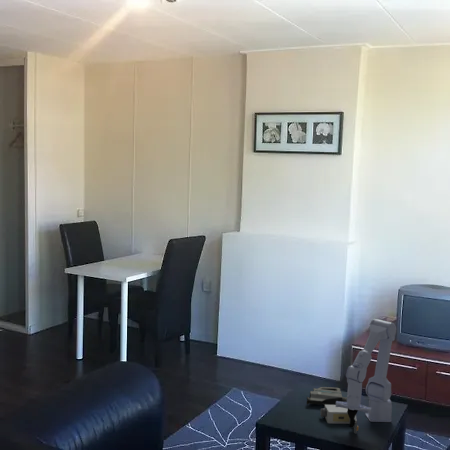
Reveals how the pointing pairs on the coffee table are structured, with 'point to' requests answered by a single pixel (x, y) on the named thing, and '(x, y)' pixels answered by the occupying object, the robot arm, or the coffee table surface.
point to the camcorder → (325, 396)
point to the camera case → (335, 414)
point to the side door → (355, 425)
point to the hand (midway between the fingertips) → (351, 426)
